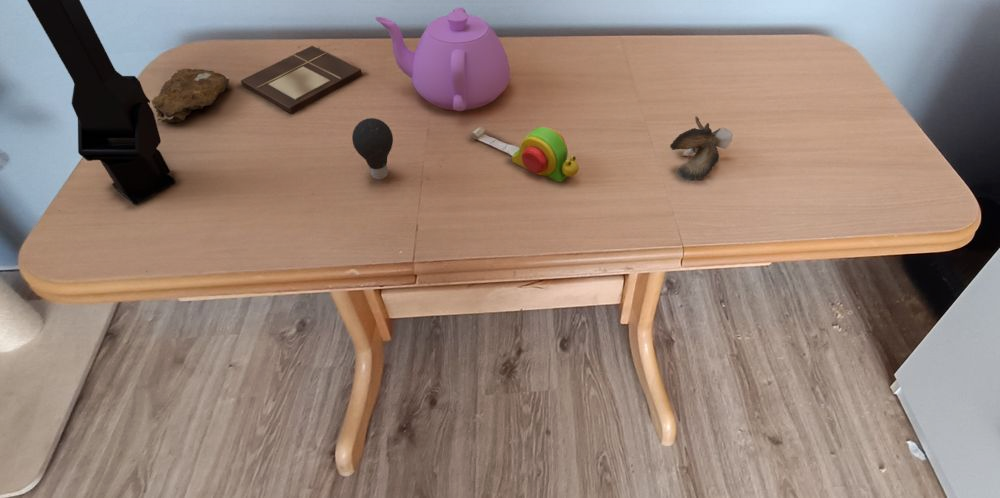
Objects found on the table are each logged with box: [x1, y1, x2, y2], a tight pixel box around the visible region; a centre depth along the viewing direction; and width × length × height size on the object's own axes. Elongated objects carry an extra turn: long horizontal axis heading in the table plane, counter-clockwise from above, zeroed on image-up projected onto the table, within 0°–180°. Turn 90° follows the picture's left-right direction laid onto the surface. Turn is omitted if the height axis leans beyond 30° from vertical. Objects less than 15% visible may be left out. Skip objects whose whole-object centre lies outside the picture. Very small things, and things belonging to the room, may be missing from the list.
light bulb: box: [351, 117, 394, 180], centre depth 84 cm, size 6×6×10 cm
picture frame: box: [240, 45, 363, 115], centre depth 106 cm, size 16×14×1 cm
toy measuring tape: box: [470, 126, 580, 183], centre depth 88 cm, size 6×20×7 cm, turn 51°
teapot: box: [375, 7, 511, 112], centre depth 99 cm, size 22×22×14 cm
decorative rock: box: [151, 68, 230, 124], centre depth 100 cm, size 11×4×15 cm
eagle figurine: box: [669, 115, 734, 181], centre depth 88 cm, size 8×7×9 cm
